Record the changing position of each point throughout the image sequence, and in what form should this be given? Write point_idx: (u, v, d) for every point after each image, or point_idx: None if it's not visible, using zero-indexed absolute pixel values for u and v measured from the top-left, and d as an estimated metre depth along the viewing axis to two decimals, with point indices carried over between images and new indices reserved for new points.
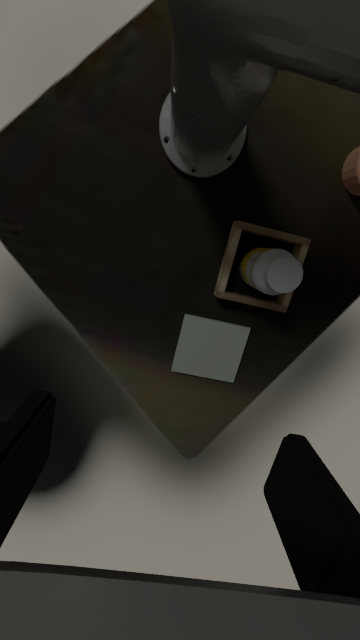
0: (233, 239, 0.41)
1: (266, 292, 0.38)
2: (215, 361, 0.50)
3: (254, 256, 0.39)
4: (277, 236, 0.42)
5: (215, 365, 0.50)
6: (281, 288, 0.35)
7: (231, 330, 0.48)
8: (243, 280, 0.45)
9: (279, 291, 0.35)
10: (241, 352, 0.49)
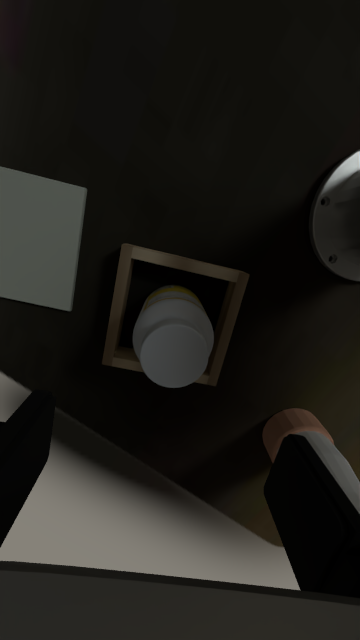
0: (220, 269, 0.25)
1: (137, 327, 0.20)
2: None
3: (197, 302, 0.23)
4: (222, 338, 0.27)
5: None
6: (149, 353, 0.18)
7: (62, 278, 0.27)
8: None
9: (143, 350, 0.18)
10: (23, 298, 0.28)
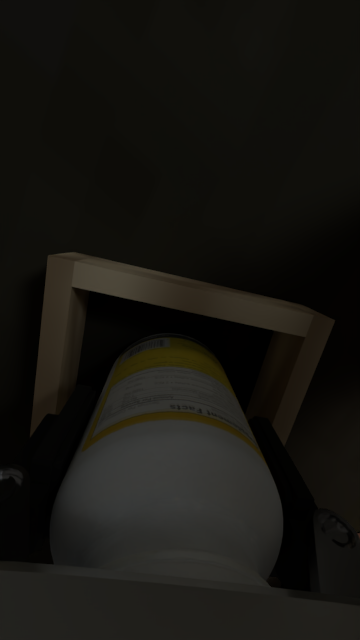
0: (273, 309, 0.11)
1: (57, 518, 0.07)
2: None
3: (228, 401, 0.09)
4: None
5: None
6: None
7: None
8: (125, 349, 0.14)
9: None
10: None
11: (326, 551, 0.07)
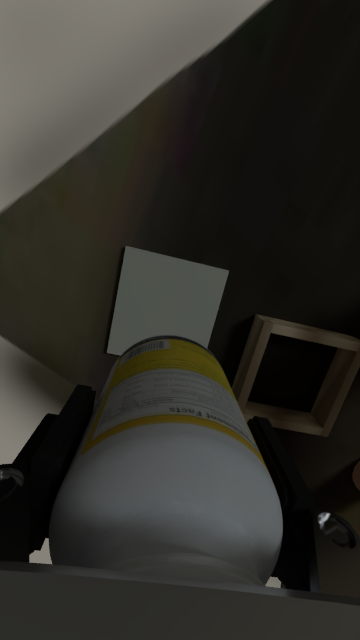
0: (345, 341, 0.29)
1: (56, 522, 0.07)
2: (146, 322, 0.30)
3: (227, 403, 0.09)
4: (338, 396, 0.31)
5: (138, 322, 0.30)
6: None
7: None
8: (125, 351, 0.14)
9: None
10: None
11: (326, 551, 0.07)
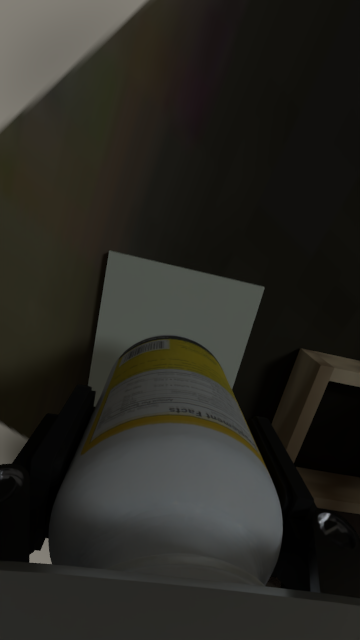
0: None
1: (56, 522, 0.07)
2: None
3: (227, 404, 0.09)
4: None
5: None
6: None
7: None
8: (125, 351, 0.14)
9: None
10: None
11: (326, 551, 0.07)
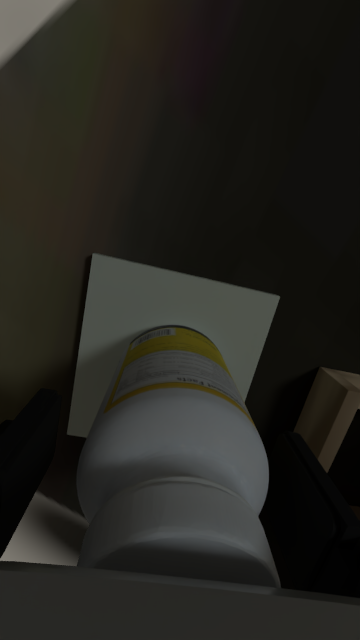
0: None
1: (85, 463, 0.08)
2: None
3: (225, 379, 0.11)
4: None
5: None
6: None
7: None
8: (135, 338, 0.15)
9: None
10: None
11: None
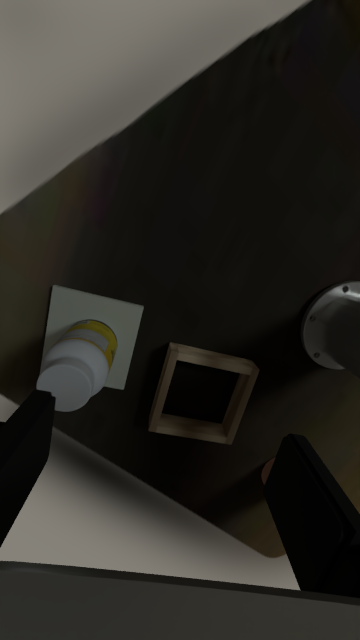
0: (239, 366, 0.35)
1: (43, 361, 0.26)
2: None
3: (100, 339, 0.29)
4: (237, 411, 0.37)
5: None
6: (43, 385, 0.23)
7: (120, 367, 0.36)
8: (73, 325, 0.33)
9: (38, 383, 0.23)
10: None
11: None
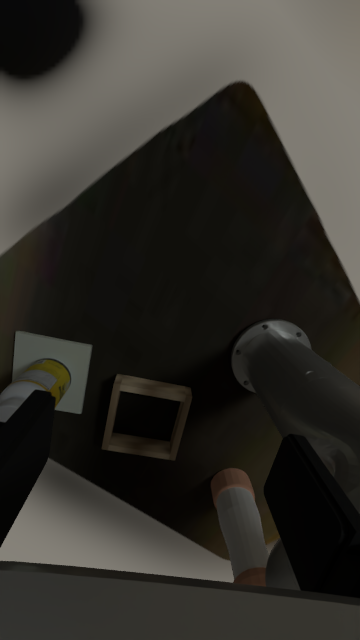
0: (174, 395, 0.41)
1: None
2: None
3: (47, 379, 0.36)
4: (177, 432, 0.43)
5: None
6: None
7: (76, 395, 0.43)
8: (33, 363, 0.40)
9: None
10: None
11: None
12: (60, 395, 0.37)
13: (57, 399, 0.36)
